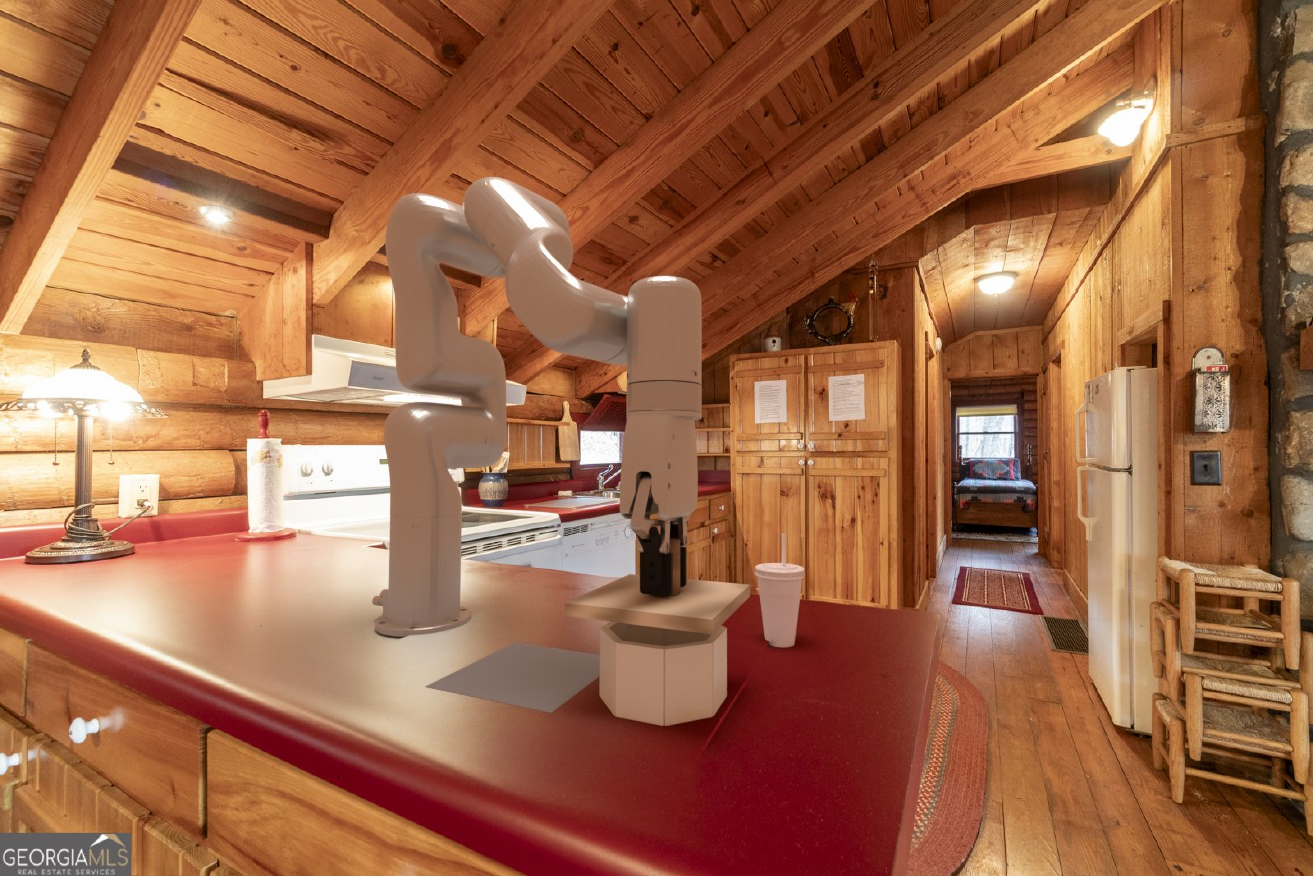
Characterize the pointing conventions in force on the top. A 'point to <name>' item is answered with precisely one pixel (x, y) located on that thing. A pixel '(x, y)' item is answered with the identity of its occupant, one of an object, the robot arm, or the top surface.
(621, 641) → the bowl
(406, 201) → the robot arm
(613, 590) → the lid
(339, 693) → the top surface
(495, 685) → the mat
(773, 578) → the smoothie
